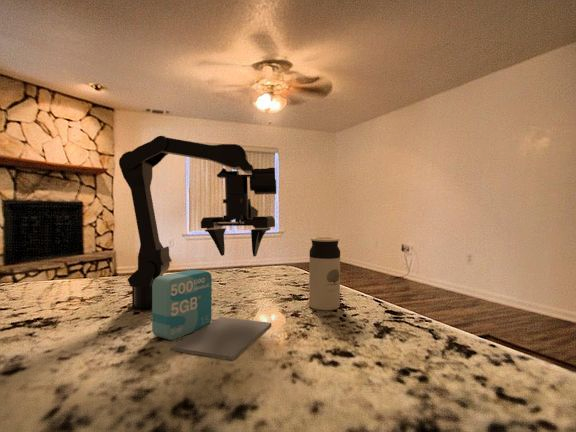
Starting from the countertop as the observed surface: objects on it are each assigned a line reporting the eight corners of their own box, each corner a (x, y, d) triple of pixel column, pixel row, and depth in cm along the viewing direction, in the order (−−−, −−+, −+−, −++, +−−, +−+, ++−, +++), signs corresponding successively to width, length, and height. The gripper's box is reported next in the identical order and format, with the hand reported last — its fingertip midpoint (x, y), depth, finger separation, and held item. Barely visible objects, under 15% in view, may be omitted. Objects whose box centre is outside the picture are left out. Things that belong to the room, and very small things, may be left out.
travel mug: (304, 303, 91) (305, 237, 91) (331, 301, 94) (332, 236, 93) (316, 312, 84) (316, 239, 83) (345, 309, 86) (345, 239, 86)
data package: (167, 343, 64) (167, 280, 64) (151, 338, 67) (151, 277, 66) (212, 324, 74) (212, 270, 74) (197, 321, 77) (197, 268, 77)
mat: (170, 350, 61) (170, 346, 61) (220, 319, 78) (220, 316, 78) (233, 360, 57) (233, 356, 57) (271, 325, 74) (271, 322, 74)
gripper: (281, 194, 91) (283, 252, 92) (220, 197, 97) (222, 251, 98) (265, 193, 81) (267, 258, 81) (198, 196, 87) (200, 256, 87)
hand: (238, 255), depth 87 cm, fingers open, 9 cm apart
